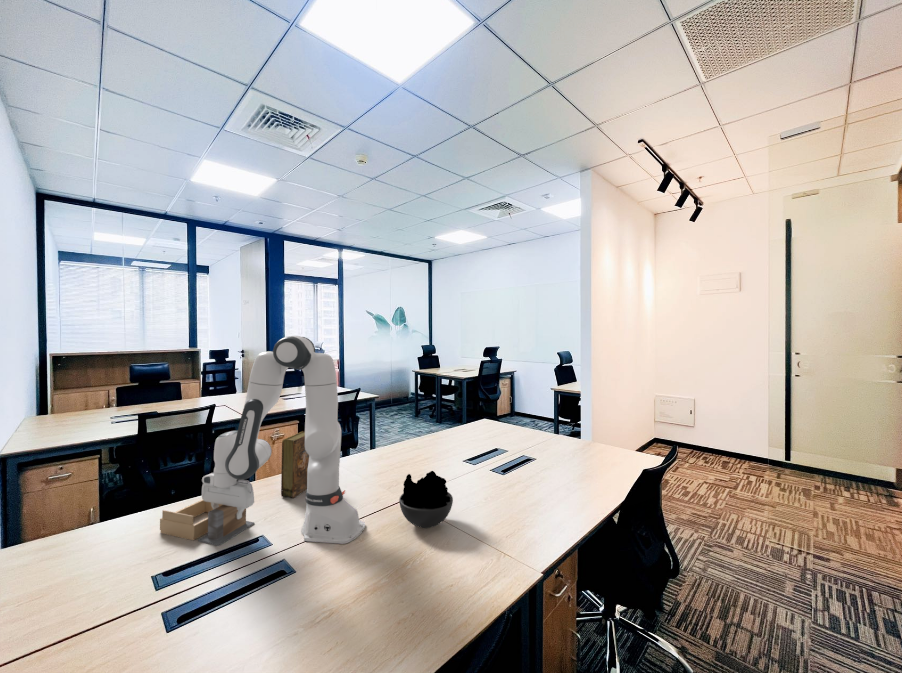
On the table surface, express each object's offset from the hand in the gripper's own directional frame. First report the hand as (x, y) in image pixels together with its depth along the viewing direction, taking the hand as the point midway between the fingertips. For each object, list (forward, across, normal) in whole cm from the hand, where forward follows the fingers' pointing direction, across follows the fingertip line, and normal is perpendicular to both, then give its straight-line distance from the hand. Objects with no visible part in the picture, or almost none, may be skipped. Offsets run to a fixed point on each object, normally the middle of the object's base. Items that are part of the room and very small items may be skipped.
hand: (227, 516), depth 131 cm
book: (+6, 0, -37) cm, 37 cm away
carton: (+6, +14, -1) cm, 15 cm away
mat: (+6, 0, 0) cm, 6 cm away
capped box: (+5, 0, 0) cm, 5 cm away
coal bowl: (+6, -65, -27) cm, 71 cm away
